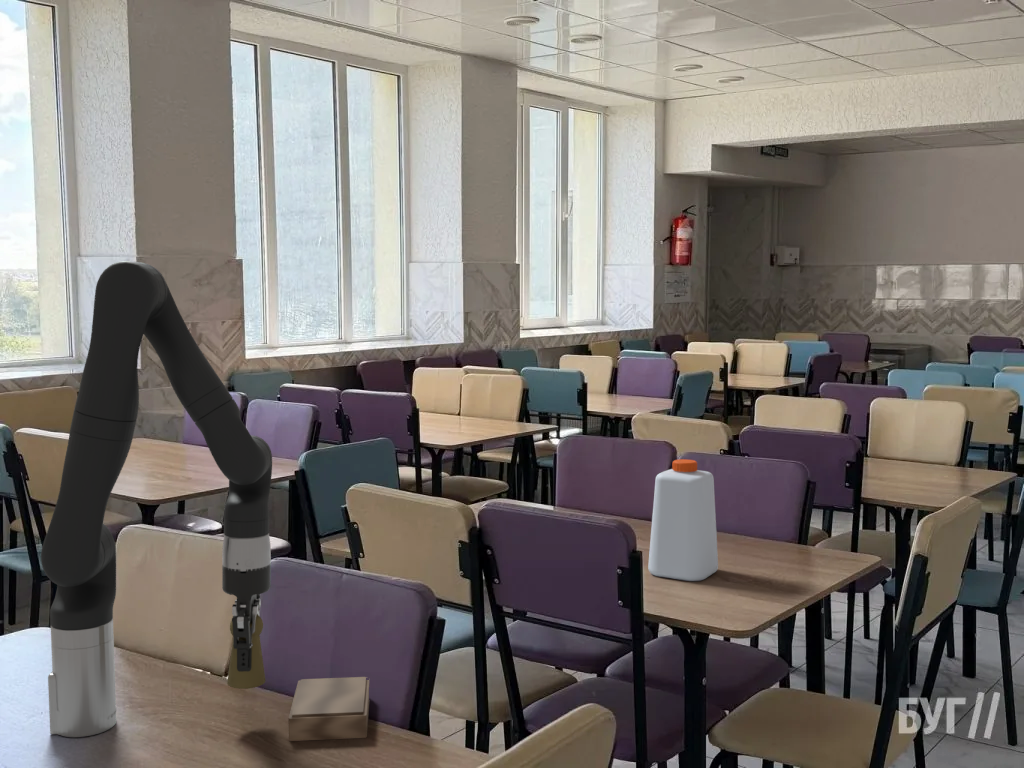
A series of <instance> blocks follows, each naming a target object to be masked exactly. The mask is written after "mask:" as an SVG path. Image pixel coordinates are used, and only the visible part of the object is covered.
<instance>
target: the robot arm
mask: <svg viewBox="0 0 1024 768" xmlns="http://www.w3.org/2000/svg"><path fill="white" fill-rule="evenodd" d="M99 275H100V276H99V277H98V279H97V282H96V284H95V285H96V286H95V291H94V301H93V312H92V313H93V314H92V323H91V324H92V325H91V332H90V333H91V335H90V340H89V342H90V343H89V347H88V351H87V356H86V360H85V362H84V367H83V370H82V375H81V378H80V379H81V380H80V383H79V389H78V393H77V398H76V401H75V405H74V409H73V415H72V419H71V423H70V427H69V428H70V429H69V434H68V441H67V447H66V451H65V456H64V462H63V466H62V467H63V469H62V474H61V481H60V482H61V483H60V487H59V493H58V496H57V500H56V503H55V507H54V510H53V513H52V516H51V519H50V522H49V525H48V529H47V531H46V534H45V538H44V540H43V543H42V547H41V553H40V561H41V565H42V566H41V568H42V569H43V571H44V574H45V575H46V577H47V578H48V579H49V580H50V581H51V582H52V583H54V584H55V585H57V586H56V590H55V591H56V592H55V596H54V599H53V601H52V604H51V607H50V610H49V618H50V620H49V623H50V645H51V669H52V671H51V672H50V673H49V674H48V676H47V686H48V687H47V688H48V710H49V711H48V713H49V734H50V735H59V736H62V737H67V738H83V737H89V736H94V735H98V734H101V733H103V732H107V731H108V730H110V729H112V728H113V727H114V726H115V725H116V723H117V702H116V701H117V700H116V697H117V695H116V671H115V665H116V664H115V639H114V613H113V612H114V604H115V600H116V594H117V550H116V544H115V543H116V542H115V539H114V536H113V534H112V531H111V530H110V529H109V527H108V526H106V524H105V523H104V520H105V519H104V518H105V514H106V509H107V505H108V502H109V499H110V496H111V493H112V491H113V490H114V487H115V485H116V483H117V481H118V478H119V476H120V474H121V472H122V470H123V467H124V465H125V463H126V460H127V458H128V455H129V452H130V449H131V446H132V442H133V438H134V433H135V429H136V424H137V419H138V413H139V406H140V392H139V391H140V390H139V389H140V388H139V373H138V372H139V371H138V370H139V369H138V361H139V360H138V359H139V353H140V348H141V344H142V341H143V337H145V338H146V339H147V341H149V343H150V345H151V346H152V347H153V350H155V353H156V354H157V356H158V358H159V360H160V362H161V364H162V365H163V366H162V367H163V369H164V372H165V373H166V376H167V378H168V380H169V382H170V383H169V384H170V385H171V387H172V389H173V391H174V392H175V393H174V394H175V395H176V396H177V399H178V400H179V402H180V403H181V405H182V407H183V408H184V409H185V412H187V414H188V416H189V417H190V418H191V420H192V421H193V423H194V424H195V426H196V427H197V428H198V430H199V431H200V433H201V434H202V436H203V438H204V441H205V443H206V445H207V447H208V449H209V452H210V454H211V456H212V458H213V460H214V462H215V463H216V465H217V467H218V468H219V471H221V473H222V474H223V475H224V476H225V478H227V479H228V497H227V499H226V501H225V505H224V510H223V511H224V512H223V542H222V551H221V552H222V555H221V558H222V561H221V562H222V566H221V568H222V570H221V571H222V572H221V573H222V576H221V577H222V581H221V583H222V584H221V585H222V589H221V590H222V591H223V592H224V593H225V594H227V595H229V596H231V595H232V596H233V597H234V596H235V597H236V599H235V600H234V604H232V609H231V610H232V611H231V614H232V617H231V620H232V624H233V635H232V643H233V641H234V643H233V647H234V649H237V670H238V671H239V672H243V671H250V670H251V661H252V646H253V643H252V634H253V633H255V631H256V616H257V615H258V616H260V608H261V606H262V605H261V603H262V602H261V599H260V598H261V594H264V593H267V592H268V591H269V590H270V589H271V585H272V584H271V583H272V581H271V576H272V575H271V574H272V572H271V568H272V567H271V566H272V565H271V564H272V563H271V561H272V560H271V557H272V555H271V552H272V548H271V540H270V508H269V507H270V506H269V502H270V501H269V500H270V498H269V497H270V491H271V485H272V477H273V476H272V474H273V453H272V450H271V448H270V445H269V444H268V443H267V441H266V440H264V439H263V438H261V437H260V436H257V435H253V434H250V432H249V430H248V429H247V427H246V425H245V424H244V422H243V420H242V419H241V410H240V409H239V406H238V404H237V403H236V401H235V399H234V398H233V396H232V394H231V393H230V392H229V390H228V389H227V386H226V385H225V384H224V383H223V381H222V380H221V378H220V377H219V375H218V374H217V372H216V371H215V369H214V368H213V366H212V365H211V363H210V362H209V360H208V359H207V358H206V356H205V355H204V353H203V351H202V350H201V348H200V347H199V345H198V343H197V341H196V340H195V338H194V337H193V335H192V333H191V332H190V330H189V328H188V326H187V324H186V323H185V320H184V319H183V316H182V314H181V313H180V310H179V308H178V306H177V303H176V301H175V300H174V297H173V295H172V292H171V291H170V288H169V286H168V284H167V282H166V279H165V277H164V276H163V274H162V272H160V271H159V270H158V269H157V268H156V267H155V266H153V265H151V264H149V263H146V262H140V261H132V260H124V261H123V260H121V261H117V262H114V263H112V264H111V265H109V266H108V267H106V268H105V269H104V270H103V272H102V273H101V274H99ZM251 623H252V627H251V628H250V624H251ZM240 637H245V638H246V641H240Z"/></svg>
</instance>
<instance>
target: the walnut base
mask: <svg viewBox="0 0 1024 768" xmlns="http://www.w3.org/2000/svg"><path fill="white" fill-rule="evenodd" d="M366 678H367V676H356V677H355V676H353V677H331V678H330V677H326V678H301V679H300V680H297V683H296V684H297V685H296V689H295V691H294V696H293V700H292V704H291V706H290V707H291V708H290V712H289V715H288V741H289V742H297V741H298V742H299V741H318V740H319V741H321V740H344V739H345V740H346V739H347V740H348V739H366V738H367V736H368V725H369V711H370V700H369V687H370V679H369V680H366Z"/></svg>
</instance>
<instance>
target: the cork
mask: <svg viewBox="0 0 1024 768" xmlns="http://www.w3.org/2000/svg"><path fill="white" fill-rule="evenodd" d="M251 627H252V623H251V624H250V628H251ZM263 628H264V621H263V619H262V618H261V616H260V615H259V616H258V615H257V616H256V631H255V633H253V634H252V643H253V646H252V661H251V670H250V671H243V672H239V671H238V670H237V649H234V647H233V643H234V641H233V640H232V643H231V652H230V658H229V659H230V661H229V666H228V674H227V679H226V684H227V686H229V687H230V688H233V689H238V690H239V689H240V690H249V689H254V688H258V687H260V686H262V685H264V684H265V683H266V674H265V666H264V660H263V659H264V658H263V652H262V644H261V643H262V642H261V636H260V635H261V633H262V632H263ZM229 630H230V634H231V636H233V624H232V619H231V621H230V624H229ZM240 641H246V638H245V637H240Z"/></svg>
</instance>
